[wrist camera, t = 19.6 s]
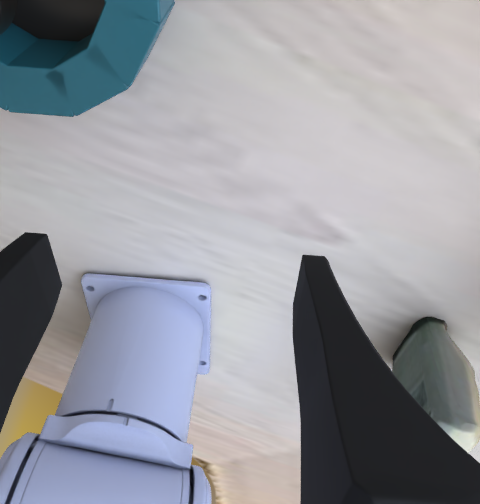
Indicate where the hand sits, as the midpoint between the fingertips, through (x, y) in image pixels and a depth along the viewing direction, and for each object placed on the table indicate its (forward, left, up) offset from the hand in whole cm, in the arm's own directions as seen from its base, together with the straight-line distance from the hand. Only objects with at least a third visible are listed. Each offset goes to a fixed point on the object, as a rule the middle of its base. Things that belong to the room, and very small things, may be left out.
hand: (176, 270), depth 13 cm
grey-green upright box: (-15, -14, -11) cm, 23 cm away
